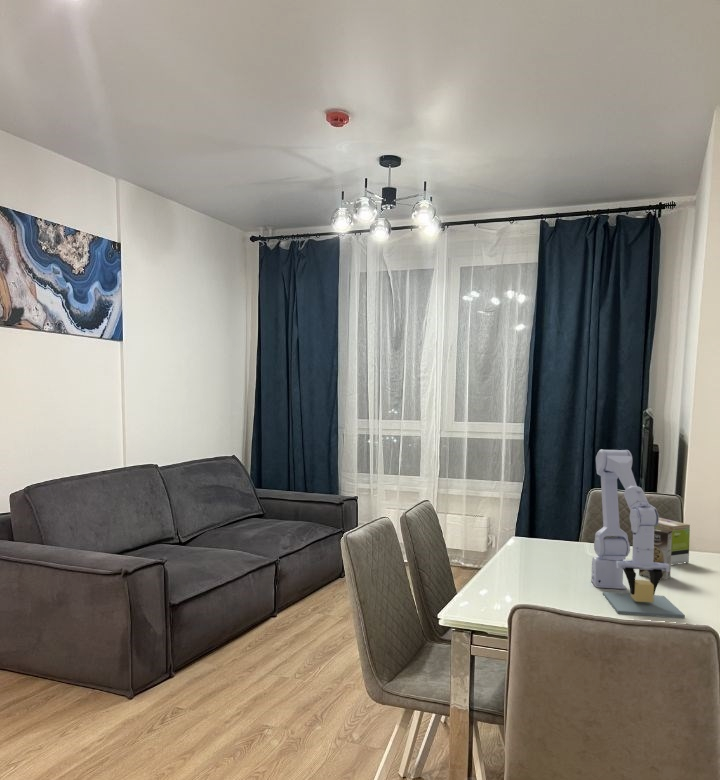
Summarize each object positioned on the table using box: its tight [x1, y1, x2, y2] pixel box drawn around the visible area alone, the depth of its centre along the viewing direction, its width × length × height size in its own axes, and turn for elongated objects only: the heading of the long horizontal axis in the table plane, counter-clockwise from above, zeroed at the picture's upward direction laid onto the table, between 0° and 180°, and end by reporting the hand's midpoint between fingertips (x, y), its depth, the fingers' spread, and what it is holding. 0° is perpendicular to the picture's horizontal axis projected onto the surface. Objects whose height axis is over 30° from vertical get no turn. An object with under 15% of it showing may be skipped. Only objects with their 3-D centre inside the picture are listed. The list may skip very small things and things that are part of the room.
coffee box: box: [638, 528, 672, 581], centre depth 229 cm, size 9×6×16 cm
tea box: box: [654, 517, 691, 565], centre depth 253 cm, size 15×10×15 cm, turn 25°
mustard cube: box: [630, 579, 655, 602], centre depth 196 cm, size 5×5×5 cm
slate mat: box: [602, 591, 686, 619], centre depth 196 cm, size 18×18×1 cm
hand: (642, 594), depth 196 cm, fingers closed on mustard cube, 5 cm apart
